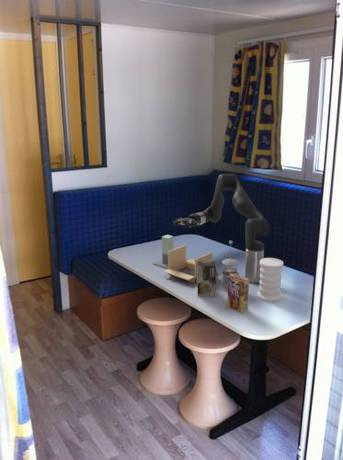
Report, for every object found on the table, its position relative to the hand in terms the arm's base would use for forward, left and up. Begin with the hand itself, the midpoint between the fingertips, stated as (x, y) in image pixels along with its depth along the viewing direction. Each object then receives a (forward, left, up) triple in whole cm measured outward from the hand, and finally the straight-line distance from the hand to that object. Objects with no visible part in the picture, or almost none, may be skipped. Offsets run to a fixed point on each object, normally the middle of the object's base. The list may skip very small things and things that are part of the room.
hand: (179, 224), depth 259 cm
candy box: (-62, +31, -22) cm, 72 cm away
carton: (-20, +14, -21) cm, 32 cm away
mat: (0, +10, -21) cm, 24 cm away
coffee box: (-42, +28, -22) cm, 55 cm away
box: (0, +10, -21) cm, 23 cm away
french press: (-47, +15, -22) cm, 54 cm away
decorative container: (-67, +11, -22) cm, 71 cm away
